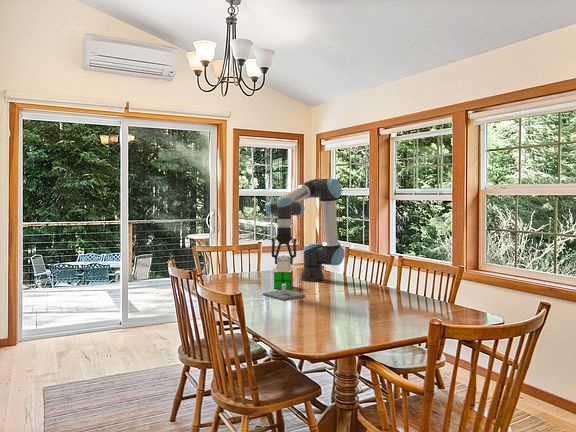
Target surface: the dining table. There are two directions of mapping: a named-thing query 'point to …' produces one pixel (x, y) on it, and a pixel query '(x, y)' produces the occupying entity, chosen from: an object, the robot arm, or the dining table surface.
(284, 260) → the knob
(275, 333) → the dining table surface
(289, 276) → the puzzle cube
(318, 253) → the robot arm
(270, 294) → the board
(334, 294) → the dining table surface
